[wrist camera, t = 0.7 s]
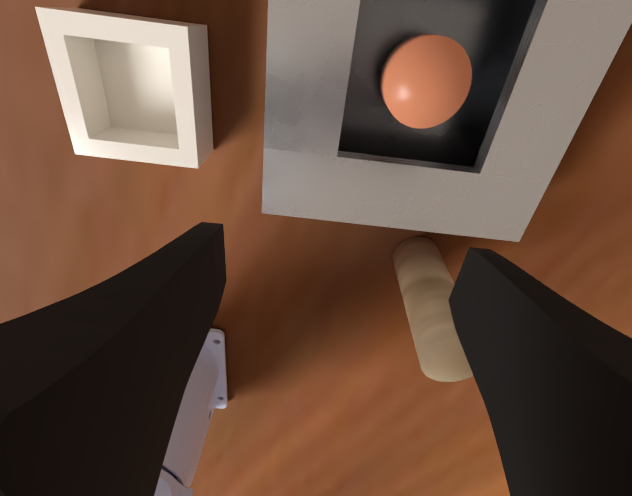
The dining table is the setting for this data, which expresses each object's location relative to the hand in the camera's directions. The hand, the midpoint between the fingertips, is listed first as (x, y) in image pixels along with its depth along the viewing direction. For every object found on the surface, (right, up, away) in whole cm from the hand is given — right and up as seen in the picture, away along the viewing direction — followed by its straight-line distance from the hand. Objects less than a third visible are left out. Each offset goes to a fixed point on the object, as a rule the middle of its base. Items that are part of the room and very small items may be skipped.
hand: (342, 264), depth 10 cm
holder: (-9, +8, +6) cm, 14 cm away
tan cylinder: (+5, 0, +11) cm, 13 cm away
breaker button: (+3, +7, +4) cm, 9 cm away
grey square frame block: (+3, +9, +6) cm, 11 cm away
